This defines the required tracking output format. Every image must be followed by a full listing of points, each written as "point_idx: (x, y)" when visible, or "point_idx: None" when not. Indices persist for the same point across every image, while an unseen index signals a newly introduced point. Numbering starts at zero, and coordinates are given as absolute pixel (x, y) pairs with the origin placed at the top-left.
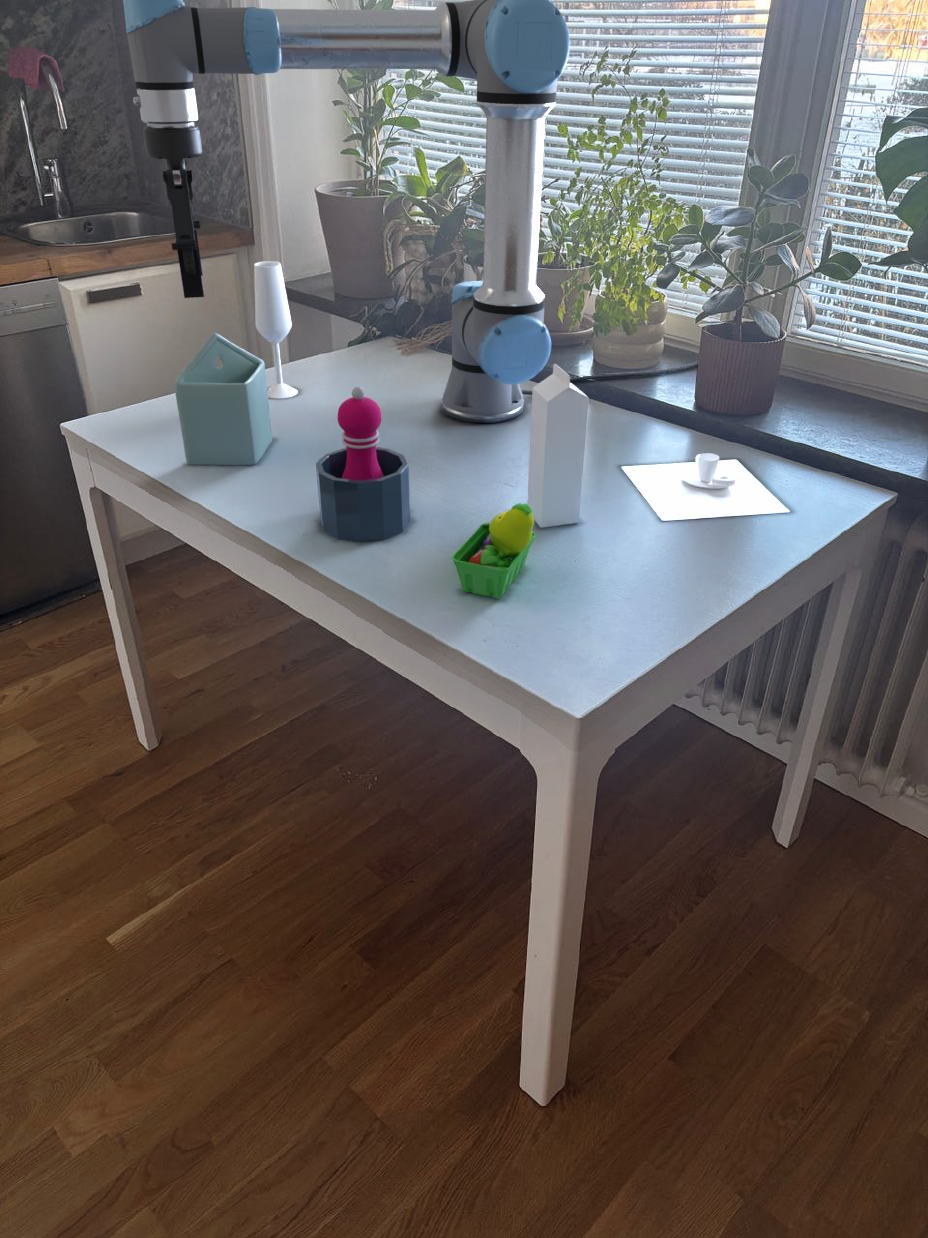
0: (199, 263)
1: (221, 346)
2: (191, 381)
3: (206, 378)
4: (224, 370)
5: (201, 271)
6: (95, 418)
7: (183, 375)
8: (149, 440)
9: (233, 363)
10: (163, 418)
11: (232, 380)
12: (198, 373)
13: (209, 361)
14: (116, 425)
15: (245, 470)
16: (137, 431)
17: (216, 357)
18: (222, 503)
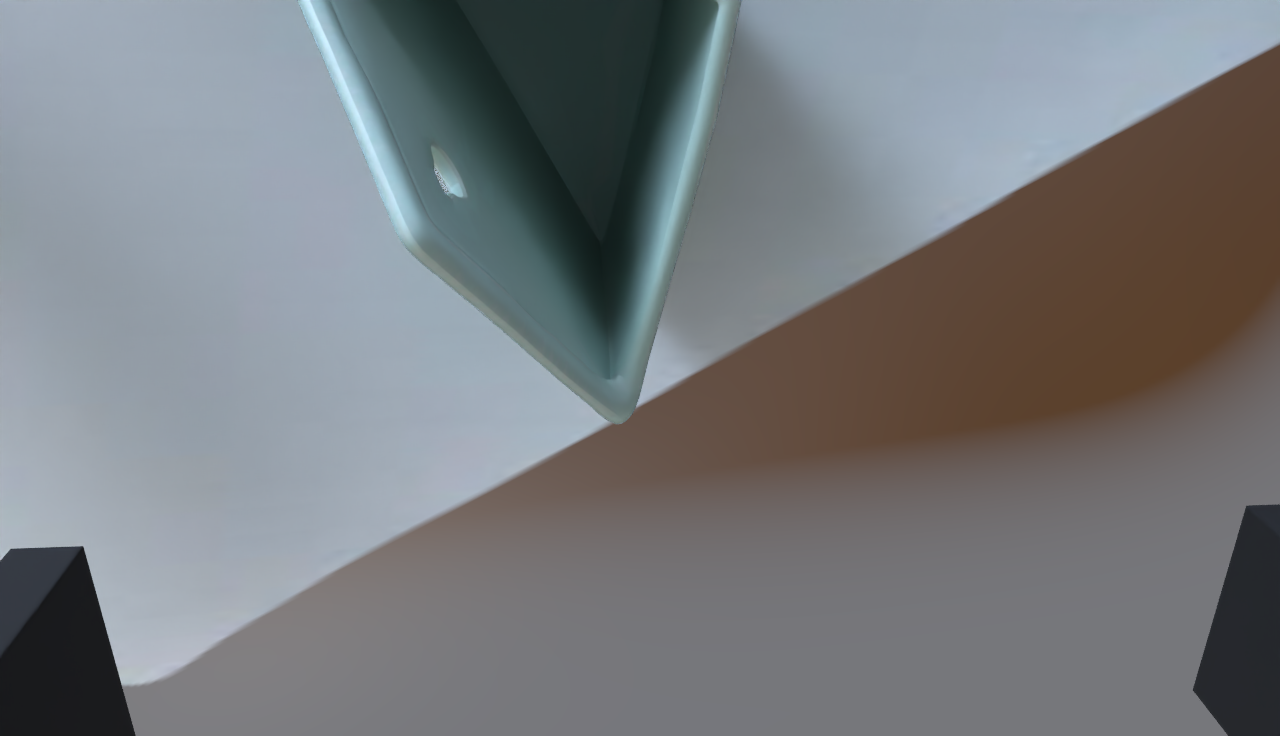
0: (9, 677)
1: (417, 171)
2: (573, 331)
3: (517, 244)
4: (439, 130)
5: (60, 587)
6: None
7: (600, 388)
8: (308, 414)
9: (389, 66)
10: (30, 373)
11: (421, 70)
12: (543, 301)
13: (493, 245)
14: (120, 545)
15: None
16: (196, 465)
17: (451, 199)
18: (1042, 119)
